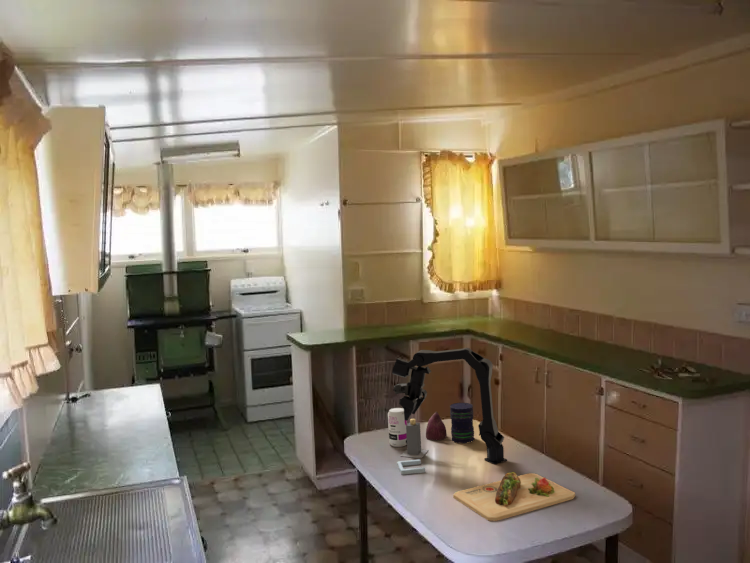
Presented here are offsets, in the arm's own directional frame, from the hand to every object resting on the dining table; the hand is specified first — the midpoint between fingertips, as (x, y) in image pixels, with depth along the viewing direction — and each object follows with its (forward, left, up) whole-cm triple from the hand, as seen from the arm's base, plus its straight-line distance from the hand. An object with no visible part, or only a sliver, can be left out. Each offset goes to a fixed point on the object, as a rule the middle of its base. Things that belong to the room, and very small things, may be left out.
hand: (409, 417), depth 266 cm
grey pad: (0, -1, -15) cm, 16 cm away
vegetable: (+12, -20, -16) cm, 28 cm away
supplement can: (+14, -2, -16) cm, 21 cm away
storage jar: (+2, -27, -16) cm, 31 cm away
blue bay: (-14, +8, -15) cm, 22 cm away
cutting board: (-56, -5, -16) cm, 59 cm away
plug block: (0, -1, -15) cm, 15 cm away
